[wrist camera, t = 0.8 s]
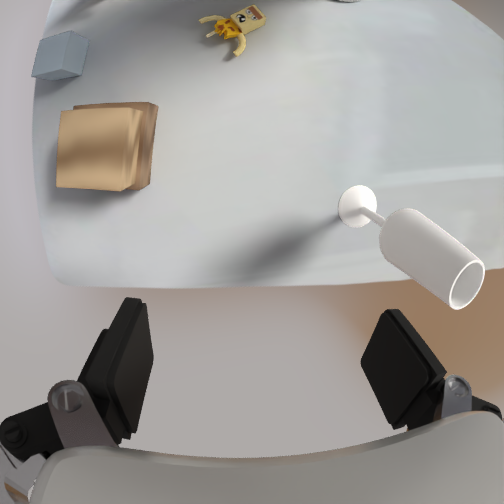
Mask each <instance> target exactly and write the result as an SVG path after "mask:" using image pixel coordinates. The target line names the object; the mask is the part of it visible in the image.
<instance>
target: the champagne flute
mask: <svg viewBox="0 0 504 504" xmlns="http://www.w3.org/2000/svg"><path fill="white" fill-rule="evenodd" d="M338 211H339V216H340V218H341V220H342V221H343V222H344V223H345V224H346V225H348V226H350V227H355V228H356V227H361V226H364V225H366V224H367V223H368V222H370V220H372V221H373V222H375V223H376V224H378V225H379V226H381V227H382V228H381V231H380V235H379V243H380V249H381V252H382V254H383V256H384V258H385V259H386V260H387V261H388V262H390V263H391V264H393V265H394V266H395V267H397V268H398V269H400V270H401V271H403V272H404V273H405V274H407V275H408V276H410V277H411V278H413V279H414V280H415V281H417V282H418V283H420V284H421V285H422V286H424V287H425V288H427V289H428V290H429V291H430V292H432V293H433V294H434V295H436V296H437V297H439V298H440V299H441V300H442V301H444V302H445V303H446V304H448V305H449V306H450V307H452V308H453V309H456V310H457V309H461V308H463V307H465V306H466V305H467V304H469V303H470V302H471V301H472V300H473V298H474V297H475V296H476V294H477V293H478V291H479V289H480V288H481V285H482V283H483V279H484V274H485V268H484V264H483V262H482V261H481V260H480V259H478V258H477V257H476V256H475V255H474V254H473V253H472V252H470V251H469V250H468V249H467V248H466V247H464V246H463V245H462V244H461V243H459V242H458V241H457V240H456V239H454V238H453V237H452V236H451V235H449V234H448V233H447V232H446V231H444V230H443V229H442V228H440V227H439V226H438V225H436V224H435V223H434V222H432V221H431V220H430V219H428V218H427V217H425V216H424V215H423V214H421V213H420V212H418V211H417V210H414V209H409V208H405V209H401V210H398V211H395V212H394V213H392V214H391V215H390V216H389V217H388V218H387V219H385V218H383V217H381V216H380V215H378V214H377V213H375V211H376V198H375V195H374V194H373V192H372V191H371V190H370V189H369V188H367V187H365V186H361V185H358V186H353V187H351V188H349V189H348V190H346V191H345V192H344V193H343V195H342V197H341V198H340V201H339V206H338Z"/></svg>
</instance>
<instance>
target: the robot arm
mask: <svg viewBox="0 0 504 504" xmlns="http://www.w3.org/2000/svg"><path fill="white" fill-rule="evenodd" d="M339 1H345V2H356V1H360V0H339ZM152 365H153V349H152V343H151V336H150V329H149V322H148V314H147V306H146V303H142V301H141V299H137V298H129V297H126V298H125V300H124V301H123V303H122V305H121V307H120V309H119V311H118V312H117V314H116V316H115V318H114V320H113V322H112V324H111V326H110V327H109V329H104V330H102V332H101V333H100V335H99V337H98V339H97V341H96V343H95V345H94V347H93V349H92V351H91V353H90V355H89V357H88V359H87V361H86V363H85V365H84V367H83V369H82V371H81V374H80V376H79V378H78V380H77V381H74V380H64V381H60V382H58V383H56V384H55V385H54V386H53V387H52V388H51V389H50V391H49V393H48V398H47V400H48V402H47V403H45V404H42V405H39V406H37V407H34V408H31V409H29V410H26V411H24V412H21V413H18V414H16V415H13V416H10V417H8V418H6V419H5V420H4V421H3V422H2V423H1V425H0V504H504V418H503V419H502V415H501V412H500V409H499V408H498V407H497V406H495V405H493V404H491V403H489V402H486V401H484V400H482V399H479V398H477V397H474V396H472V391H471V387H470V385H469V383H468V382H467V381H466V380H465V379H464V378H463V377H461V376H458V375H450V376H448V377H447V378H446V380H444V378H443V377H444V376H445V374H446V373H447V371H446V370H445V368H444V367H443V366H442V364H441V363H440V362H439V360H438V359H437V358H436V356H435V355H434V353H433V352H432V351H431V349H430V348H429V347H428V345H427V344H426V343H425V341H424V340H423V339H422V338H421V336H420V335H419V334H418V332H416V330H415V329H414V327H413V326H412V325H411V323H410V322H409V321H408V320H407V319H406V317H405V316H404V315H403V314H402V313H401V311H400V310H399V309H387V310H385V311H384V313H382V314H381V316H380V318H379V321H378V323H377V325H376V328H375V330H374V332H373V334H372V337H371V339H370V341H369V343H368V345H367V347H366V350H365V352H364V354H363V356H362V358H361V367H362V369H363V371H364V373H365V375H366V377H367V379H368V381H369V383H370V385H371V387H372V389H373V391H374V393H375V395H376V397H377V400H378V402H379V404H380V406H381V408H382V410H383V413H384V415H385V417H386V419H387V421H388V423H389V424H391V425H392V427H393V429H394V430H395V429H398V428H401V427H404V426H405V425H407V427H408V428H407V431H406V432H404V433H401V434H397V435H394V436H391V437H387V438H384V439H380V440H376V441H372V442H368V443H364V444H360V445H355V446H350V447H346V448H341V449H335V450H329V451H323V452H316V453H309V454H301V455H291V456H278V457H263V458H262V457H261V458H216V457H197V456H184V455H174V454H166V453H158V452H151V451H143V450H136V449H129V448H120V447H119V446H118V444H120V443H121V441H122V438H124V439H129V440H130V438H131V433H136V431H137V428H138V423H139V419H140V414H141V410H142V405H143V401H144V397H145V392H146V389H147V385H148V380H149V377H150V373H151V369H152ZM35 479H36V482H34V480H35ZM33 485H34V487H33V490H32V494H31V497H30V502H29V501H28V497H27V496H28V491H29V489H30V488H31V487H32V486H33Z"/></svg>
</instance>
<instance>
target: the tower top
mask: <svg viewBox="0 0 504 504" xmlns="http://www.w3.org/2000/svg"><path fill="white" fill-rule="evenodd" d="M142 118H143V111H140V110H136V109H132V108H95V109H79V110H68V111H61V118H60V126H59V136H58V149H57V170H56V187H65V188H82V189H97V190H110V191H122V190H124V189H126V188H127V187H129V186H131V185H133V184H135V180H136V168H137V157H138V148H139V140H140V132H141V124H142Z"/></svg>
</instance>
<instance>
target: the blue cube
mask: <svg viewBox="0 0 504 504" xmlns="http://www.w3.org/2000/svg"><path fill="white" fill-rule="evenodd" d="M89 42H90V41H89V40H87V39H86V38H84V37H82V36H80V35H78V34H77V33H75V32H73V31H68V32H65V33H61V34H58V35H54V36H51V37H48V38H45V39H42V40H40V43H39V47H38V50H37V54H36V58H35V62H34V66H33V71H32V77H35V78H41V79H46V80H51V81H54V80H59V79H63V78H69V77H74V76H80V75H82V71H83V66H84V62H85V57H86V53H87V49H88V45H89Z"/></svg>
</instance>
